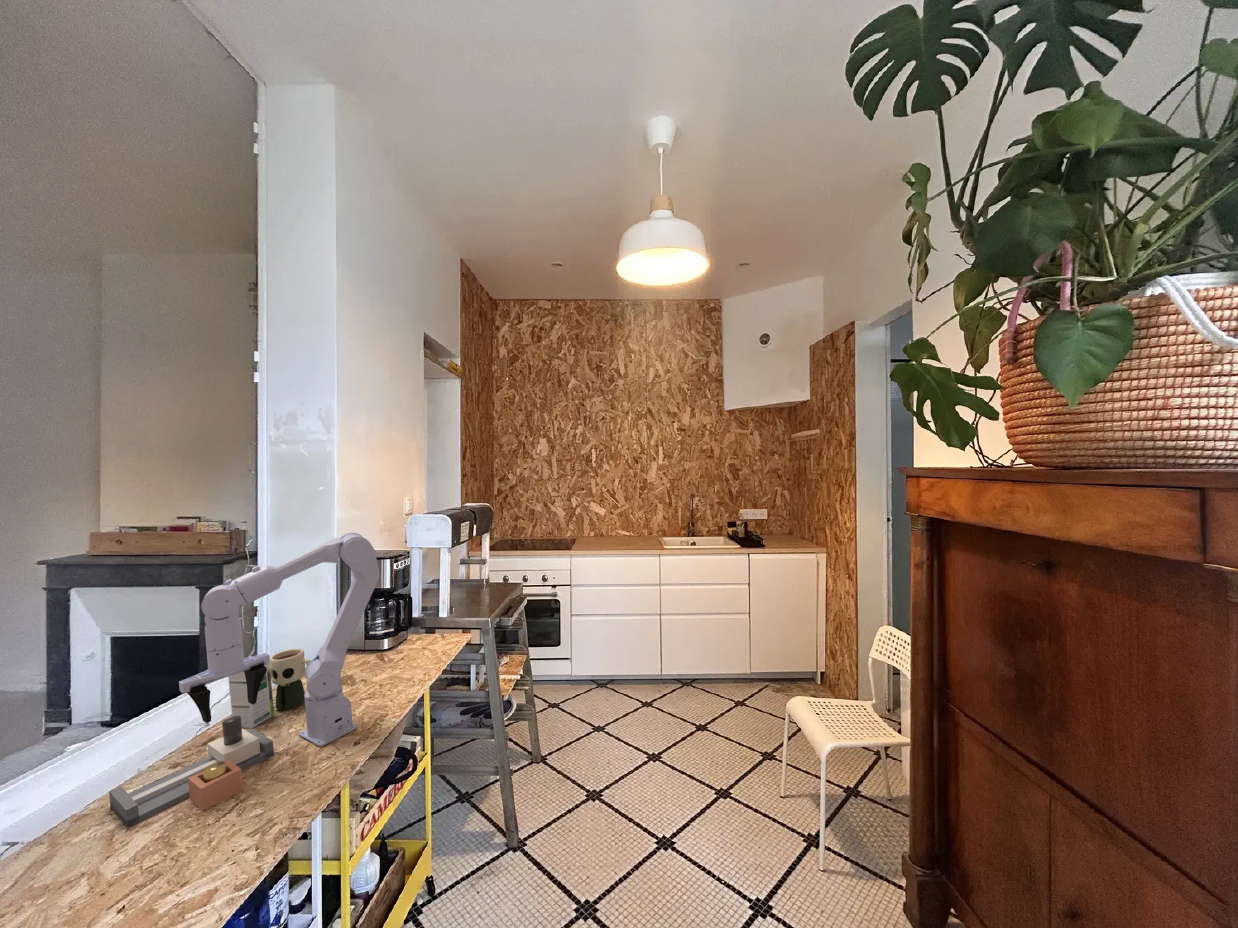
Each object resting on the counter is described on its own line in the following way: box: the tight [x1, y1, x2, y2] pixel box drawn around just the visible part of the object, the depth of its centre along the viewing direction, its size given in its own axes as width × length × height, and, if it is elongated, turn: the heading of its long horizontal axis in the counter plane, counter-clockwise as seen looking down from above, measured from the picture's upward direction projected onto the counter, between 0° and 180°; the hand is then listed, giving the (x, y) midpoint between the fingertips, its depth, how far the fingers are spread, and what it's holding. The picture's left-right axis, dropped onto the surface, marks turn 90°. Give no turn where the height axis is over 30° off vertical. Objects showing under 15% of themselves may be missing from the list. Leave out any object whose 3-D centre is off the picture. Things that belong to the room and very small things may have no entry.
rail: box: [108, 728, 275, 828], centre depth 95 cm, size 10×22×3 cm, turn 148°
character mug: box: [270, 648, 312, 711], centre depth 122 cm, size 11×7×13 cm, turn 94°
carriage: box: [206, 716, 260, 765], centre depth 100 cm, size 8×6×7 cm
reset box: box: [188, 760, 244, 812], centre depth 90 cm, size 6×6×4 cm
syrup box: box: [227, 655, 275, 729], centre depth 115 cm, size 6×6×14 cm
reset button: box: [203, 761, 226, 783], centre depth 90 cm, size 3×3×3 cm
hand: (230, 711), depth 100 cm, fingers open, 7 cm apart
